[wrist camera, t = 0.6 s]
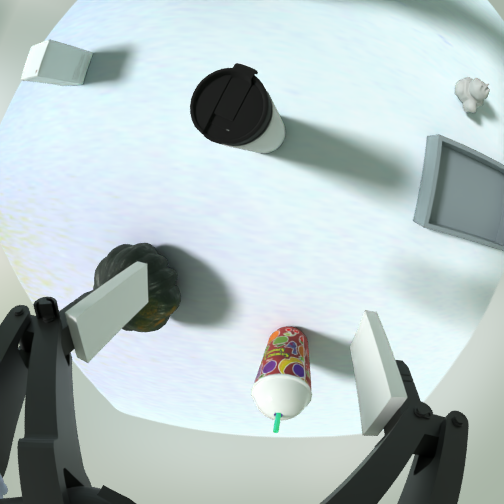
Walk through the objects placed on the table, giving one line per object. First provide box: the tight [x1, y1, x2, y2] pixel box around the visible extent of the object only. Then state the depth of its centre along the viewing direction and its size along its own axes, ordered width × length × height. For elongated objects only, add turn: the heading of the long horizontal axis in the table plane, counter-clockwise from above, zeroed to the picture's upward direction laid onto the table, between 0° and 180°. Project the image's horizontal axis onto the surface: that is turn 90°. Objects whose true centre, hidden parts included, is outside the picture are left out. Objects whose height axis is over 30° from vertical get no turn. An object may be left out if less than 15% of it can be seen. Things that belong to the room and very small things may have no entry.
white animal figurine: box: [455, 77, 490, 113], centre depth 24 cm, size 5×7×8 cm
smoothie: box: [251, 327, 312, 433], centre depth 37 cm, size 8×8×20 cm
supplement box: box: [21, 40, 93, 86], centre depth 30 cm, size 7×7×13 cm
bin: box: [413, 135, 504, 251], centre depth 30 cm, size 13×19×4 cm
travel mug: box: [190, 63, 286, 153], centre depth 27 cm, size 6×7×20 cm
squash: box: [93, 243, 181, 332], centre depth 41 cm, size 14×15×15 cm
